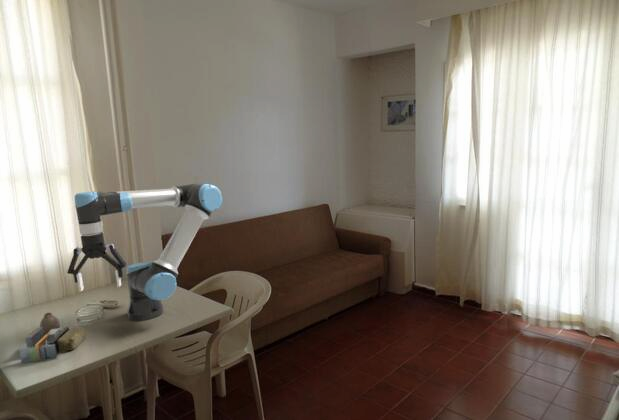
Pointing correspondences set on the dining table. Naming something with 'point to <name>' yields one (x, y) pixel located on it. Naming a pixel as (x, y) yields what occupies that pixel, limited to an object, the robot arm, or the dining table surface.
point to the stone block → (71, 339)
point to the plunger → (51, 338)
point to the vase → (49, 323)
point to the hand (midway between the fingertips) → (100, 288)
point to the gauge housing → (31, 351)
